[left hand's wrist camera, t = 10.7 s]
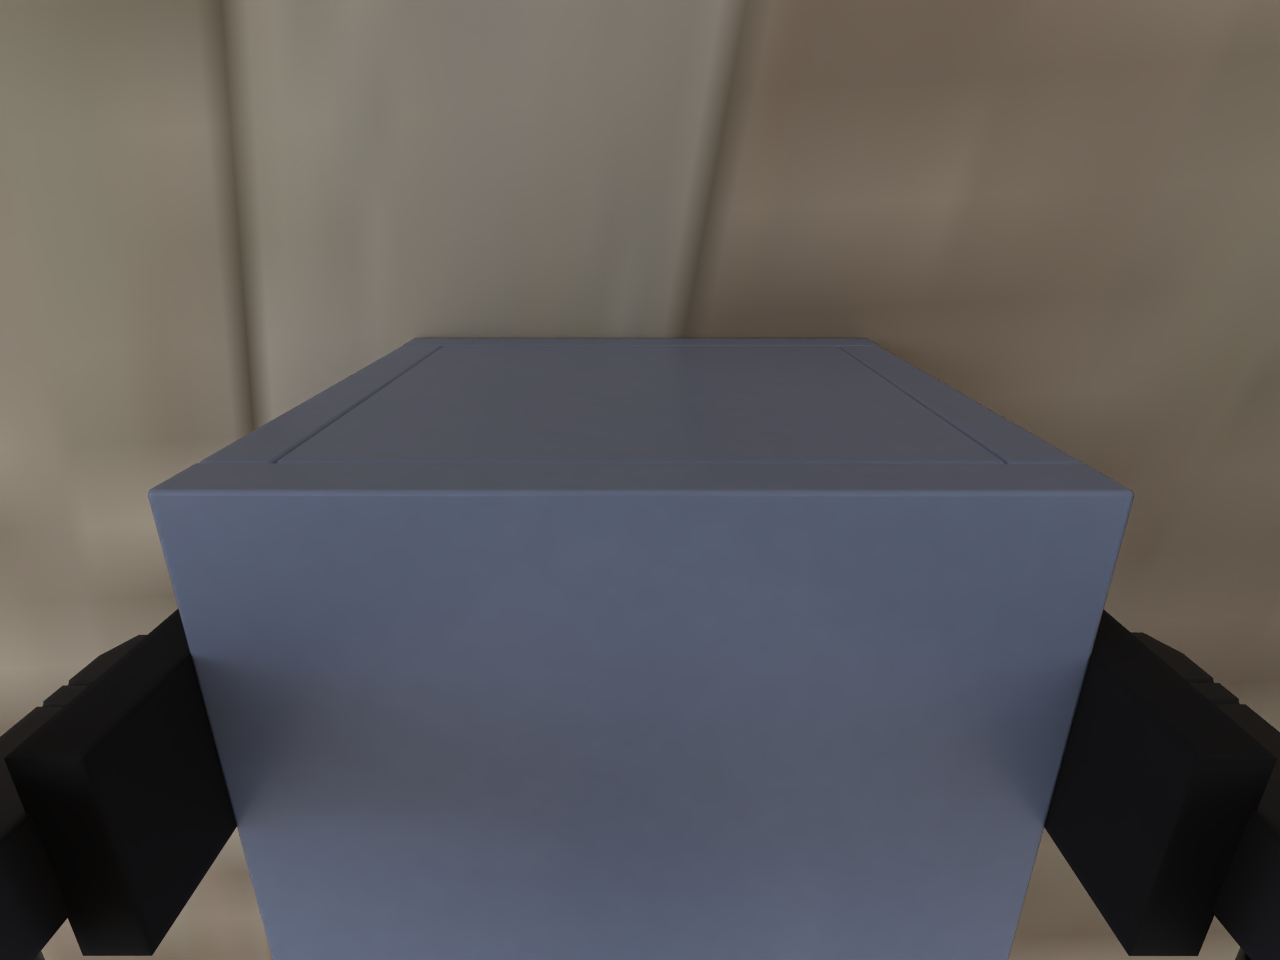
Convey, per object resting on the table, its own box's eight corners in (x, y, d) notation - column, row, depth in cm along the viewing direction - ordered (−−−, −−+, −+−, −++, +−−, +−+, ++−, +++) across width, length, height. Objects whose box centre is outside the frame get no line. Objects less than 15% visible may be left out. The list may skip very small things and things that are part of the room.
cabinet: (808, 845, 22) (923, 1278, 13) (472, 845, 22) (356, 1278, 13) (867, 337, 17) (1139, 491, 8) (414, 338, 17) (143, 490, 8)
